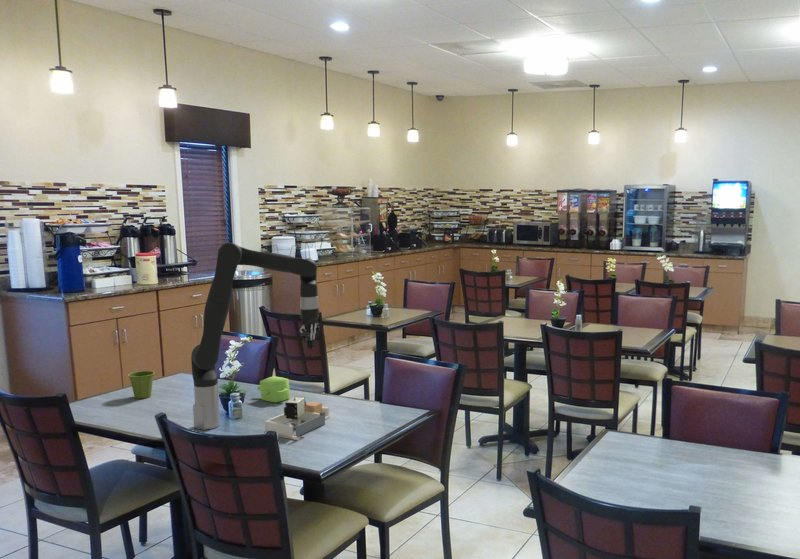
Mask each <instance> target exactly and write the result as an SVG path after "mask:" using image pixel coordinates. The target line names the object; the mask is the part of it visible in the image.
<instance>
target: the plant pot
mask: <svg viewBox="0 0 800 559" xmlns="http://www.w3.org/2000/svg"><path fill="white" fill-rule="evenodd" d="M155 373H156V372H155V371H154V370H153V371H152V370H142V371H141V370H139V371H135V372H133V371H132V372H130V373H128V374H127V377H129V381H130V384H131V387H132V392H133V397H134V399H137V400H140V399H143V400H144V399H148V398H150V397H151V396H152V392H153V391H152V388H153V379H154V376H155Z"/></svg>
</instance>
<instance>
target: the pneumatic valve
mask: <svg viewBox="0 0 800 559" xmlns="http://www.w3.org/2000/svg"><path fill="white" fill-rule="evenodd" d="M306 404H307V402H306V397H305V396H293V397H290V398H289V399H286V402H284V405H285V406H284V408H283V414H284V416H286V418H288V419H291V420H290V425H292V426H293V428H296V426H297V425H299V424H301V423H302V420H301V417H300V416H301V415H302V414H304V413H305V406H306ZM299 417H300V418H299Z"/></svg>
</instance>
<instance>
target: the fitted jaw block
mask: <svg viewBox="0 0 800 559" xmlns="http://www.w3.org/2000/svg"><path fill="white" fill-rule="evenodd" d="M322 407H323V402H318V401H317V402H316V401H310V402H308V403H307V402H306V406H305V411H309V412H314V413H320V412H322Z"/></svg>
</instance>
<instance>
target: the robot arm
mask: <svg viewBox="0 0 800 559" xmlns="http://www.w3.org/2000/svg"><path fill="white" fill-rule="evenodd" d="M238 266H249V267H258V268H263V269H265V270H270V271H275V272H281V273H289V274H294V275H298V276H299V277H300V285H299V286H300V297H299V298H300V299H299V306H300V310H299V311H300V312H299V313H300V319H301V320H302V321H301V322H302V323H301V327H299V328H298V329H297V330H298V332H299V334H300V336H301V337H302V339H303V340H306V347H307V349H309V350H312V349H314V348H315V339H316V338H318V337H319V334H320V331H321V329H322V324H321V323H319V321H318V319H319V317H320V312H319V311H320V310H319V309H320V308H319V296H318V293H319V292H318V283H317V273H318V272H317V270H318V265H317V263H316V261H315V260H313V259H312V258H308V257H307V258H301V257H294V256H292V255H287V254H284V253H283V254H281V253H276V252H266V251H257V250H252V249H249V248H245V247H242V246H239V245H238V244H236V243H233V242H225V243H224V244H222V245H221V246H220V247H219V248H218V251H217V259H216V266H215V271H214V277H213V278H212V282H211V284H210V288H209V291H208V294H207V297H206V302H205V305H204V310H203V329H202V330H203V332H202V335H201V336H202V337H201V341H200V343H199V344H197V345H196V346H194V348H193V349H192V351H191V356H190V358H191V360H190V362H191V374H192V379H193V391H194V393H193V394H194V395H193V396H194V404H193V405H192V412H193V413H192V414H193V428H194V429H199V430H203V431H207V430H211V429H216V428H218V427H219V426H220V424H221V422H220V404H219V381H218V374H217V371H216V365H217V363H218V360H219V357H220V355H219V354H220V347H221V340H222V335H223V333H224V329H225V325H226V322H227V318H228V314H229V311H230V307H231V301H232V296H233V295H232V294H233V282H234V277H235V273H236V270H237V269H238V268H237V267H238Z"/></svg>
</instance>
